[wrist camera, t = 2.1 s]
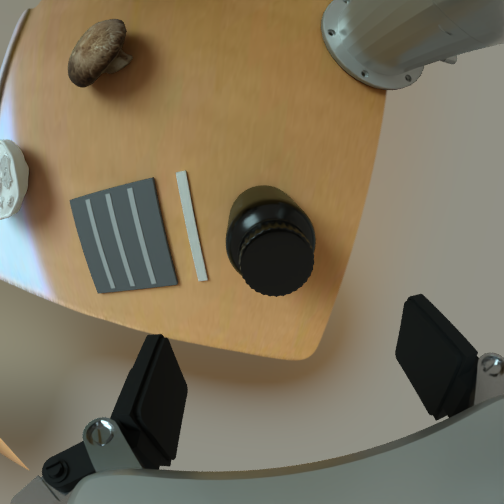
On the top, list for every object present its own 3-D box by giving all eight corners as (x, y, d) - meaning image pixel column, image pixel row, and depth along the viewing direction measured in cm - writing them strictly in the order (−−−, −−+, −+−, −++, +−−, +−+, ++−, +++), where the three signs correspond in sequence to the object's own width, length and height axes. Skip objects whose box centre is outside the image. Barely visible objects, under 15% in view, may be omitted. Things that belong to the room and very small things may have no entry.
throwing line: (185, 170, 26) (185, 170, 26) (207, 278, 31) (207, 280, 30) (176, 172, 26) (175, 172, 26) (199, 280, 31) (198, 281, 30)
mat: (153, 177, 27) (151, 178, 26) (178, 282, 31) (177, 285, 30) (71, 199, 27) (69, 200, 26) (99, 291, 31) (97, 293, 31)
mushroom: (149, 59, 19) (95, 36, 14) (103, 110, 23) (54, 97, 18) (146, 22, 20) (103, 1, 15) (105, 66, 24) (64, 53, 19)
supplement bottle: (252, 260, 30) (256, 326, 19) (217, 206, 28) (197, 247, 17) (308, 228, 29) (345, 278, 18) (275, 171, 27) (297, 188, 16)
